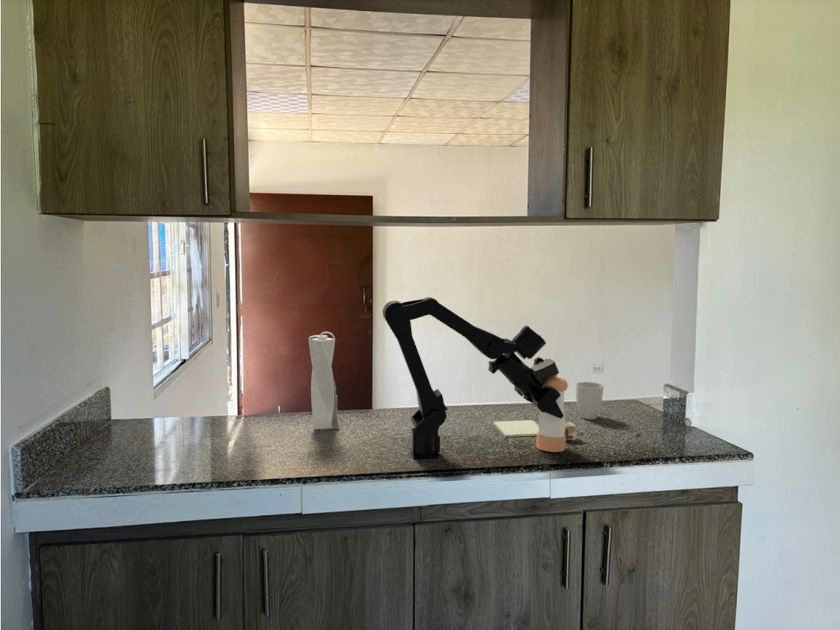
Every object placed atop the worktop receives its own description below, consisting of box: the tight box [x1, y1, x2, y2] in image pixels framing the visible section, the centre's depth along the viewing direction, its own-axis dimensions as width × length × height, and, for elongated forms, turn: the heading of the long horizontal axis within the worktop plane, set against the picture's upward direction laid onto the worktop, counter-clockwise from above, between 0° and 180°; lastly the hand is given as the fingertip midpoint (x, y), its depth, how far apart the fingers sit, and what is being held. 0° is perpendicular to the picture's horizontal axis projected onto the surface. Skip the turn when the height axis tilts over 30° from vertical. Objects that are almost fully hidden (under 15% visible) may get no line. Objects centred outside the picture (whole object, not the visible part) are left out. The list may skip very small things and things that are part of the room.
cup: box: [575, 381, 605, 420], centre depth 171 cm, size 8×8×10 cm
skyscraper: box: [308, 331, 340, 431], centre depth 158 cm, size 8×8×28 cm
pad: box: [492, 419, 539, 438], centre depth 159 cm, size 12×12×1 cm
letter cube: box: [564, 421, 577, 441], centre depth 151 cm, size 4×4×4 cm
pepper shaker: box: [535, 374, 569, 453], centre depth 143 cm, size 7×7×19 cm
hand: (557, 413), depth 143 cm, fingers closed on pepper shaker, 6 cm apart
